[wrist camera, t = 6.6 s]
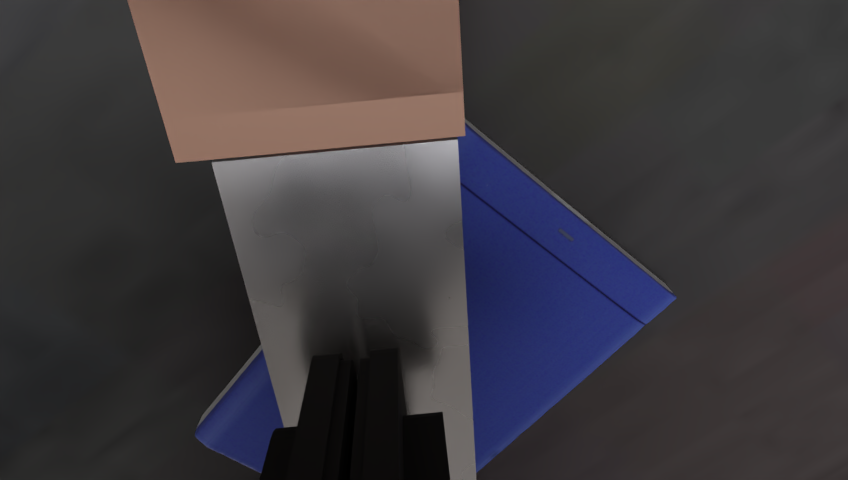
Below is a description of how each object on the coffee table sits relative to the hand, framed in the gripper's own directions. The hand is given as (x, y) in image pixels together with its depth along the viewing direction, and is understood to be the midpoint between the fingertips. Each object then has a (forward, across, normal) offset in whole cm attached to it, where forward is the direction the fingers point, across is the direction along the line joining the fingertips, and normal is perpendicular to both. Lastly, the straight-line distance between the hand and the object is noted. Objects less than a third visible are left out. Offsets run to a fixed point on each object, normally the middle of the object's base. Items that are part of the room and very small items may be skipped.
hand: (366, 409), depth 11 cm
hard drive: (+6, -1, +3) cm, 7 cm away
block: (+5, 0, -8) cm, 9 cm away
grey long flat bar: (+2, 0, +4) cm, 4 cm away
